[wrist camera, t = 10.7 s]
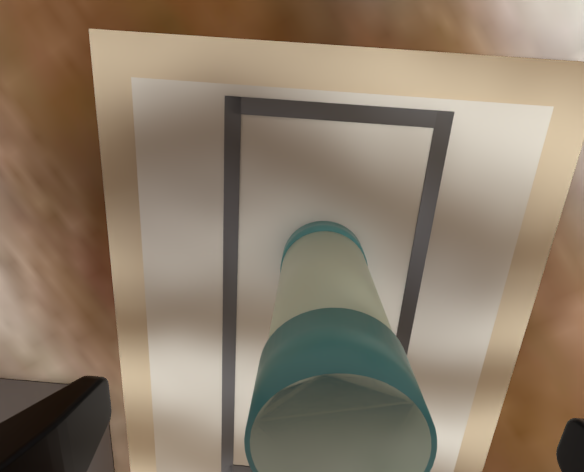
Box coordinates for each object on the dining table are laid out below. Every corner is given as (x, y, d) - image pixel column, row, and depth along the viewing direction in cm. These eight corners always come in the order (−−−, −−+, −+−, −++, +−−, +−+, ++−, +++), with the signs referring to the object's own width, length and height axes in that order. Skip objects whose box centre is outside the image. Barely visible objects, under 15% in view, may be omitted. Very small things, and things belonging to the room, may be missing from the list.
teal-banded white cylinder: (359, 300, 16) (418, 525, 7) (279, 293, 16) (241, 507, 7) (369, 223, 15) (455, 378, 6) (283, 216, 15) (247, 359, 6)
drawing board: (453, 524, 21) (461, 549, 20) (142, 495, 21) (132, 517, 20) (586, 66, 14) (613, 62, 12) (103, 34, 14) (84, 27, 13)
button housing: (116, 486, 21) (80, 555, 18) (-3, 475, 22) (-60, 541, 18) (104, 388, 19) (61, 445, 16) (-27, 376, 19) (-97, 430, 16)
